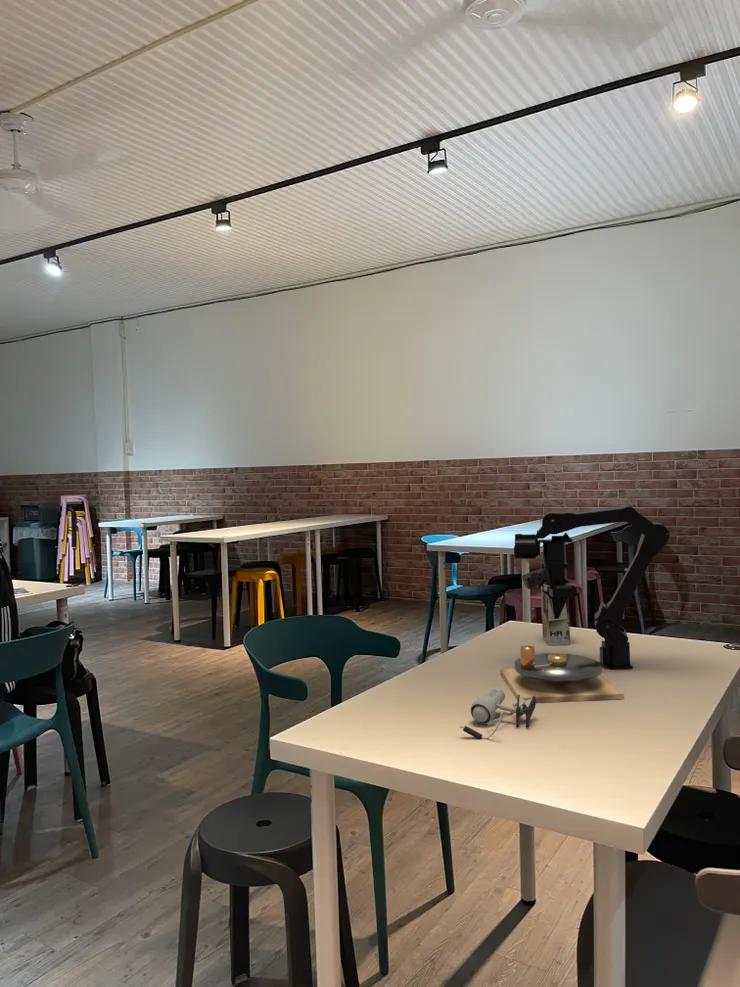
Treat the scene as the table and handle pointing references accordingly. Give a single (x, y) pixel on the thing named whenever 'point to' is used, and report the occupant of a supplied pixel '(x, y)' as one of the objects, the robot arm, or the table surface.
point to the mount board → (560, 688)
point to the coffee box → (555, 623)
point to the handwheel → (556, 666)
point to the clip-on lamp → (487, 706)
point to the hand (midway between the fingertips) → (556, 618)
